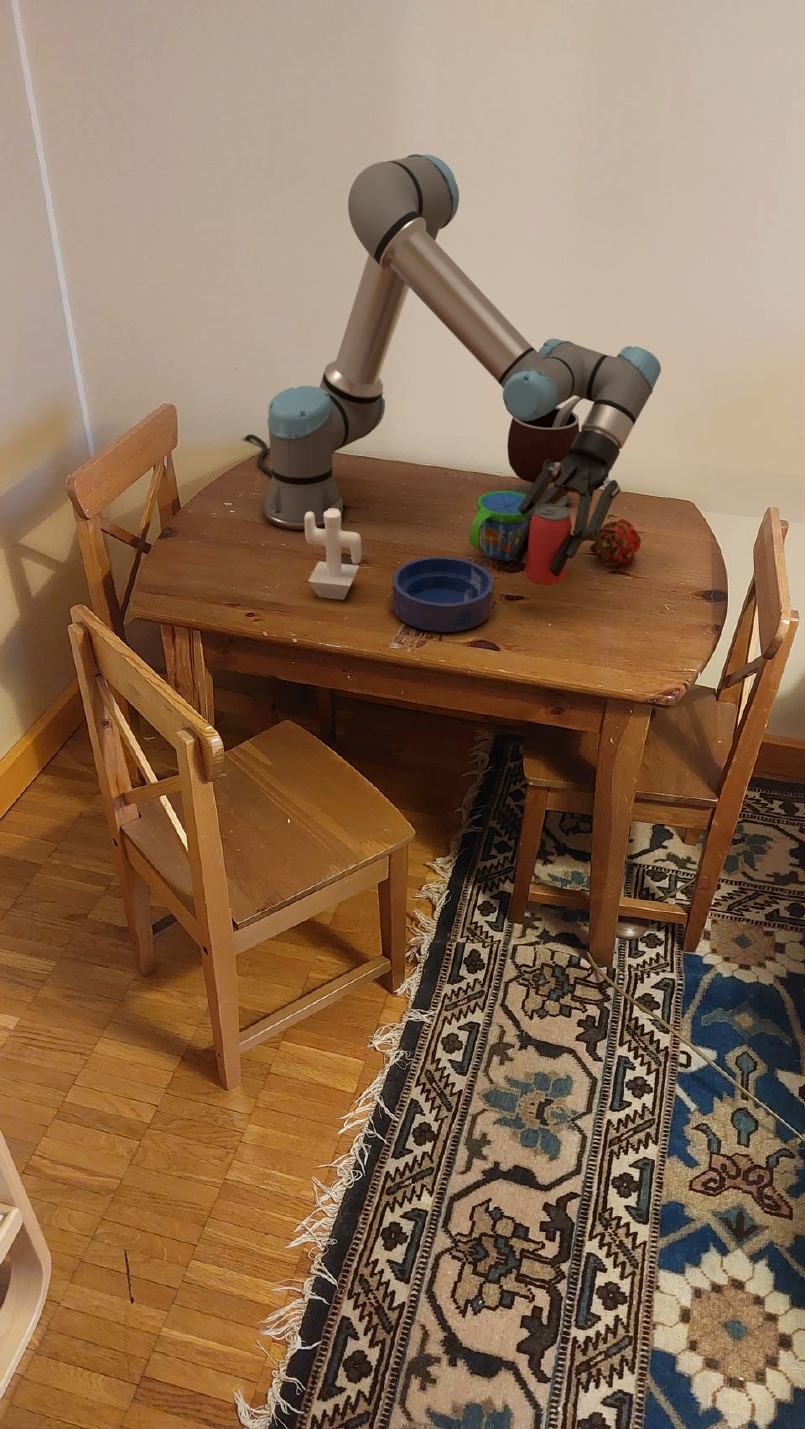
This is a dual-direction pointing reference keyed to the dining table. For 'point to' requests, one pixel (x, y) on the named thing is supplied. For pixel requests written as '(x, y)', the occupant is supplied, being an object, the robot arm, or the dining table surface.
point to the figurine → (332, 555)
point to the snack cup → (498, 524)
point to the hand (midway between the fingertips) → (534, 565)
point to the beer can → (546, 542)
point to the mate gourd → (541, 444)
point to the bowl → (442, 594)
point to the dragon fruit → (617, 543)
